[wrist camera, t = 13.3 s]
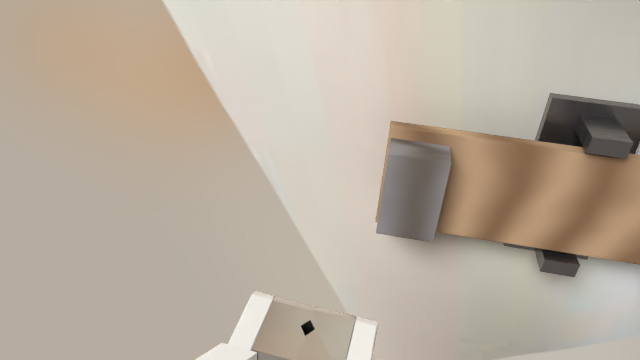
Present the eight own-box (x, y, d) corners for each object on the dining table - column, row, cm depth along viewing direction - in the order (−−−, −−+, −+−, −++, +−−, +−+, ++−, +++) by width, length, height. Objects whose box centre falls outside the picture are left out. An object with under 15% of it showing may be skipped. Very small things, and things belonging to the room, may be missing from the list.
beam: (376, 214, 49) (372, 241, 46) (390, 121, 44) (387, 143, 41) (757, 275, 45) (785, 309, 42) (823, 180, 40) (862, 210, 37)
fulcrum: (502, 239, 52) (508, 275, 48) (550, 93, 44) (563, 119, 39) (584, 253, 51) (599, 291, 47) (649, 106, 43) (674, 134, 38)
